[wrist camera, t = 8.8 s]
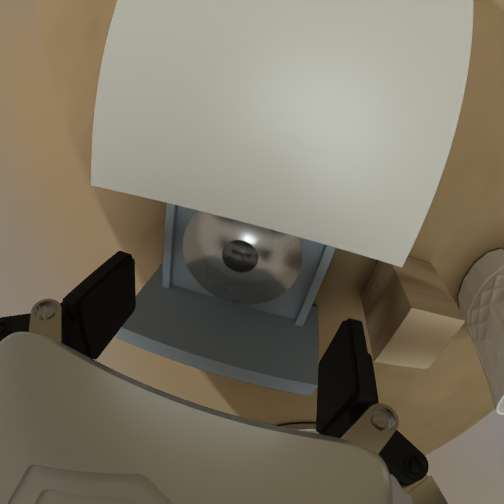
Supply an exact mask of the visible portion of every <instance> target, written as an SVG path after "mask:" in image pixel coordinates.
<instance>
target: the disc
mask: <svg viewBox="0 0 504 504" xmlns="http://www.w3.org/2000/svg"><path fill="white" fill-rule="evenodd" d="M183 254H184V258H185V262H186V264H187V267H188V269H189V271H190V272H191V274H192V275H193V277H194V278H195V280H196V281H197V282H198V283H199V284H200V285H201V286H202V287H203V288H204V289H206V290H207V291H208V292H210V293H211V294H213V295H214V296H216V297H218V298H220V299H223V300H225V301H228V302H232V303H236V304H244V305H253V304H261V303H265V302H268V301H271V300H273V299H275V298H277V297H279V296H281V295H282V294H284V293H285V292H286V291H287V290H288V289H289V288H290V287H291V286H292V285H293V283H294V282H295V280H296V278H297V276H298V274H299V271H300V268H301V262H302V238H300V237H297V236H293V235H290V234H286V233H282V232H279V231H275V230H271V229H268V228H264V227H260V226H256V225H253V224H249V223H245V222H241V221H238V220H234V219H230V218H226V217H222V216H218V215H214V214H210V213H206V212H202V211H198V212H197V213H196V214H195V215H194V216H193V217H192V219H191V220H190V221H189V223H188V225H187V227H186V230H185V233H184V237H183Z"/></svg>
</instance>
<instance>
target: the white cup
mask: <svg viewBox="0 0 504 504" xmlns="http://www.w3.org/2000/svg"><path fill="white" fill-rule="evenodd" d="M458 301H459V310H460V312H461V314H462V315H463V317H464V319H465V322H466V324H467V327H468V329H469V332H470V336H471V339H472V341H473V344H474V346H475V348H476V351H477V354H478V357H479V360H480V363H481V365H482V368H483V371H484V374H485V376H486V379H487V382H488V385H489V388H490V391H491V395H492V398H493V402H494V405H495V409H496V412H497V413H498V414H499V415H504V249H497V250H494V251H491V252H488V253H486V254H485V255H484V256H483V257H482V258H480V259H479V260H478V261H477V262H476V263H474V265H473V266H472V267H471V269H470V270H469V272H468V273H467V275H466V276H465V278H464V279H463V282H462V285H461V288H460V291H459V294H458Z"/></svg>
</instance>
